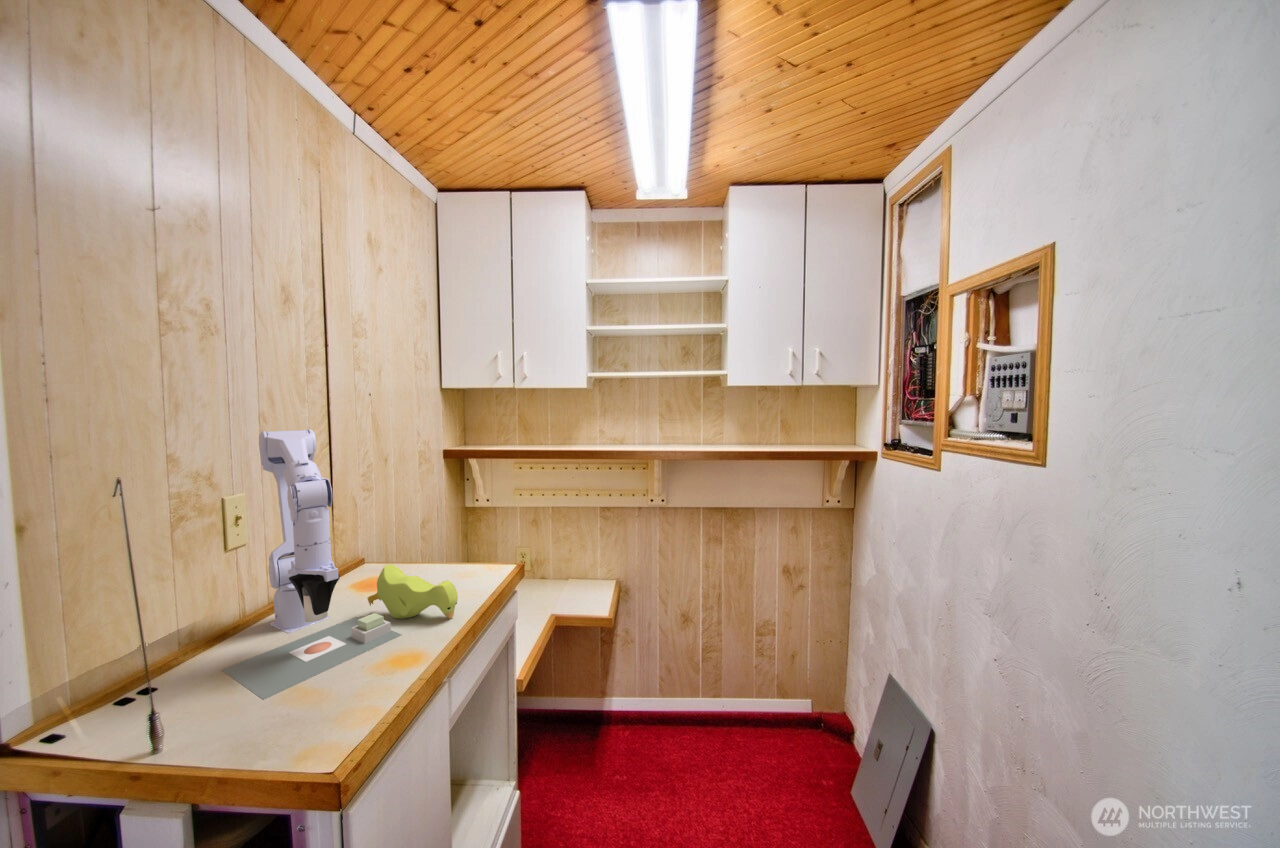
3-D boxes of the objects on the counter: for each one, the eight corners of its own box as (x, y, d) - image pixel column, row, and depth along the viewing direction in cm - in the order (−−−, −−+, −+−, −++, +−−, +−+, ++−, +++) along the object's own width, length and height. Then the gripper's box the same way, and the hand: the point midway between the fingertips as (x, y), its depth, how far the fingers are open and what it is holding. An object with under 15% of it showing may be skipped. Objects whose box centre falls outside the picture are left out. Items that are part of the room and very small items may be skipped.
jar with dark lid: (300, 619, 85) (298, 586, 84) (322, 612, 88) (320, 579, 88) (309, 624, 83) (307, 589, 83) (331, 615, 86) (330, 582, 86)
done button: (358, 631, 90) (357, 619, 90) (375, 624, 93) (374, 613, 93) (367, 635, 88) (366, 623, 88) (384, 628, 91) (383, 616, 91)
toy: (379, 647, 98) (452, 621, 94) (354, 578, 99) (426, 549, 95) (399, 633, 104) (469, 608, 100) (376, 568, 105) (444, 541, 101)
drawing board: (221, 672, 79) (220, 658, 79) (356, 618, 99) (355, 607, 99) (263, 702, 70) (262, 687, 70) (402, 637, 90) (401, 625, 90)
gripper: (271, 543, 85) (274, 611, 85) (306, 553, 78) (310, 627, 78) (312, 534, 91) (316, 597, 92) (348, 542, 84) (352, 611, 84)
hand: (316, 610), depth 85 cm, fingers closed on jar with dark lid, 4 cm apart
